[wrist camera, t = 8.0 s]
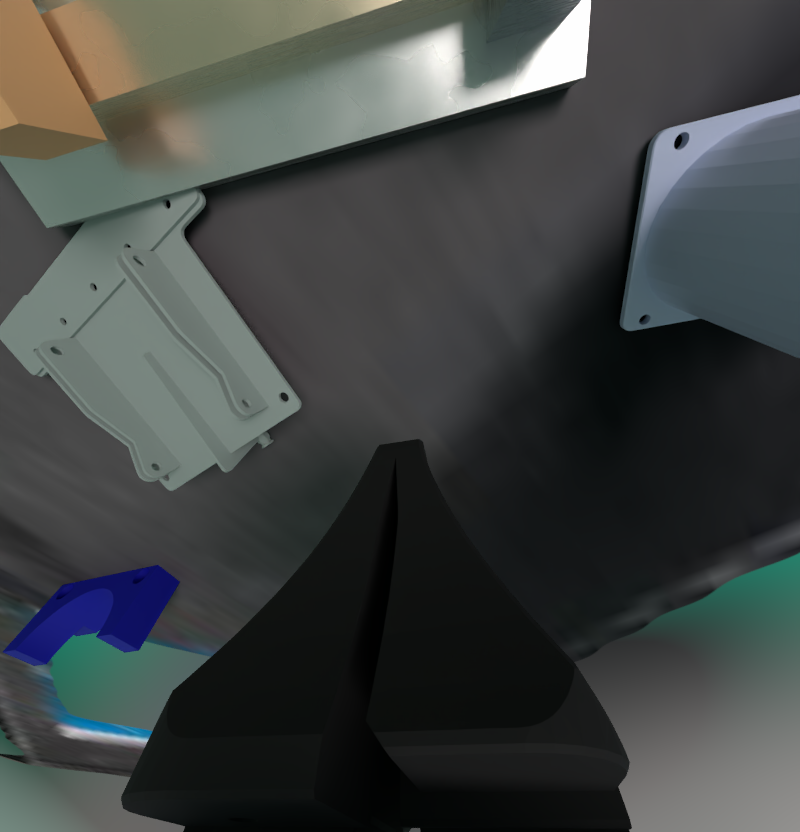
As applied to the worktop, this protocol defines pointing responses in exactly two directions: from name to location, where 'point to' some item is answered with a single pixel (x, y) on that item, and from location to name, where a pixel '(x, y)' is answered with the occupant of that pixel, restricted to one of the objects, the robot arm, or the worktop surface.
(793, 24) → the worktop surface
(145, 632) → the cable clip
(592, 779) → the robot arm
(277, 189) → the worktop surface
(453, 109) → the plate
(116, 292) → the metal bracket
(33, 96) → the block
